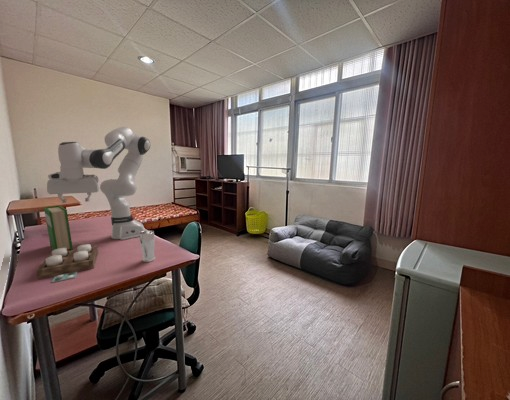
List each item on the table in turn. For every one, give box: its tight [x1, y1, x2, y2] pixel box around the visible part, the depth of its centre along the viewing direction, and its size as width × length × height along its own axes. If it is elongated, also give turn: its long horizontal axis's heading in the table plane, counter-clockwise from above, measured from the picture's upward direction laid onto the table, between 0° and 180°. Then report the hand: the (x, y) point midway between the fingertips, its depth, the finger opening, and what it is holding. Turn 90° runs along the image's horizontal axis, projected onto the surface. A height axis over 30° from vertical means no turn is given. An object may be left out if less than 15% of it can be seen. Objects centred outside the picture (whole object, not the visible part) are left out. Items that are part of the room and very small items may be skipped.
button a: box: [76, 243, 92, 253], centre depth 116 cm, size 6×6×3 cm
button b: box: [51, 248, 68, 257], centre depth 111 cm, size 6×6×3 cm
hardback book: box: [43, 205, 73, 251], centre depth 129 cm, size 18×7×24 cm, turn 50°
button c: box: [73, 251, 89, 262], centre depth 107 cm, size 6×6×3 cm
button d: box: [44, 255, 63, 267], centre depth 102 cm, size 6×6×3 cm
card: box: [51, 271, 79, 284], centre depth 98 cm, size 8×6×1 cm
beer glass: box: [139, 229, 156, 263], centre depth 114 cm, size 7×7×15 cm
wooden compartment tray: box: [36, 246, 99, 280], centre depth 110 cm, size 20×20×4 cm
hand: (76, 202), depth 112 cm, fingers open, 8 cm apart
